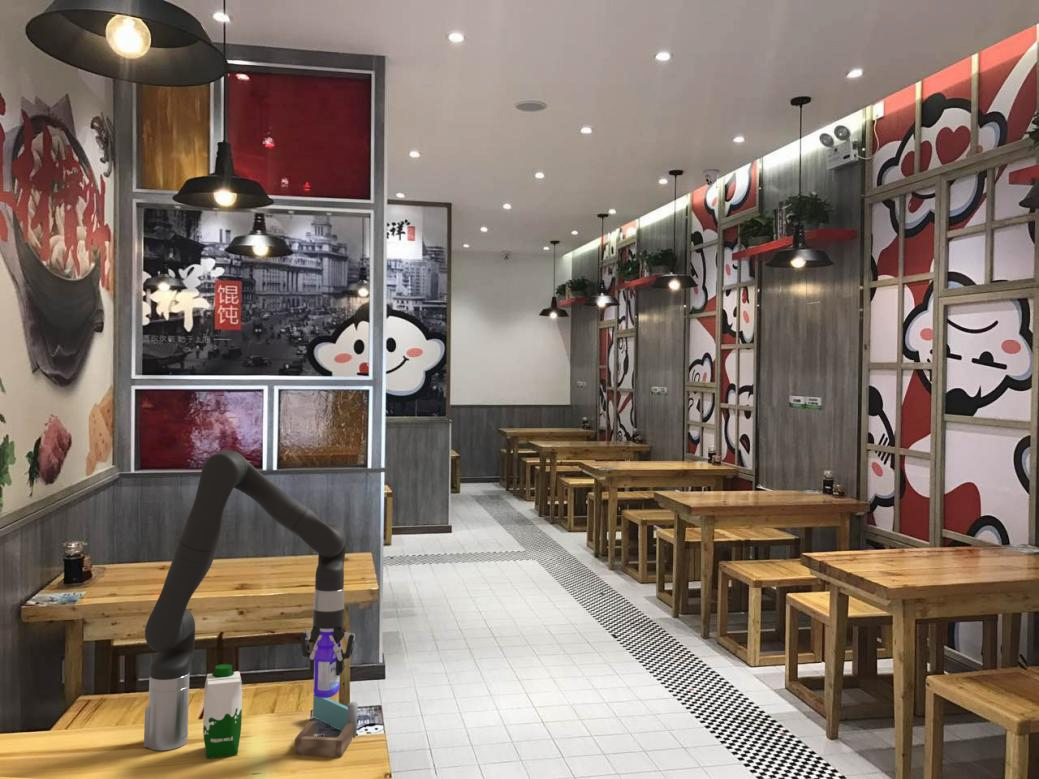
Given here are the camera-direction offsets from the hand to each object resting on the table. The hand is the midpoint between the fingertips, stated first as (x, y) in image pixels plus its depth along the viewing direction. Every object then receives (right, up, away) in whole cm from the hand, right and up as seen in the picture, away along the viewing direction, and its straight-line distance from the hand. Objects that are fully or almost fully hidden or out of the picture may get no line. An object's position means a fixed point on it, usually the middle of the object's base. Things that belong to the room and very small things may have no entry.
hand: (326, 673), depth 205 cm
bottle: (0, -5, 0) cm, 5 cm away
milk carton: (-25, -17, -5) cm, 31 cm away
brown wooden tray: (0, -18, 0) cm, 18 cm away
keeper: (-1, -18, +11) cm, 21 cm away
